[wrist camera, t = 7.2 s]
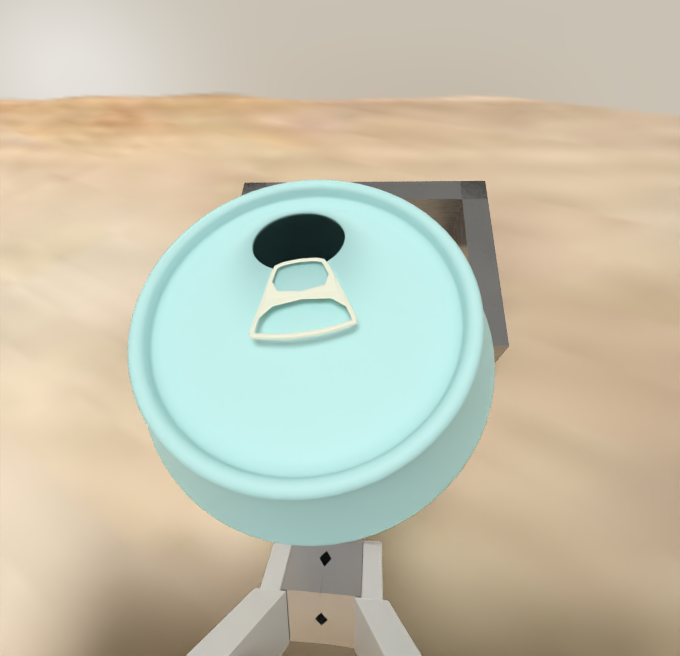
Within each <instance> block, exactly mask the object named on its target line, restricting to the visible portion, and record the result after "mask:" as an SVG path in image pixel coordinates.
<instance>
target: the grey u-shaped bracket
mask: <svg viewBox="0 0 680 656" xmlns="http://www.w3.org/2000/svg"><path fill="white" fill-rule="evenodd" d="M352 183H357V184H362V185H366V186H370V187H373V188H377V189H380V190H382V191H385V192H388V193H391V194H393V195H395V196H397V197H400V198H402V199H404V200H405V201H407V202H409V203H411V204H413V205H414V206H416V207H417V208H419V209H420V210H422V211H423V212H425V213H426V214H428V215H429V216H430V217H431V218H433V219H434V220H435V221H436V222H437V223H438V224H439V225H440V226H441V227H442V228H443V229H445V230H446V231H447V233H448V234H449V235H450V236H451V237H452V238H453V240H454V241H455V242H456V243H457V245H458V246H459V248H460V249H461V251H462V252H463V254H464V255H465V257H466V259H467V261H468V263H469V264H470V266H471V268H472V271H473V273H474V276H475V278H476V281H477V283H478V287H479V291H480V294H481V298H482V305H483V311H484V313H485V316H486V318H487V322H488V325H489V329H490V332H491V337H492V343H493V349H494V362H496V361H497V360H498V358H499V357H500V356H501V355H502V354H503V353H504V351H505V350H506V349H507V348H508V347H509V343H508V336H507V329H506V322H505V316H504V309H503V302H502V295H501V288H500V281H499V274H498V267H497V260H496V253H495V246H494V240H493V233H492V226H491V219H490V212H489V205H488V198H487V191H486V184H485V181H429V182H352ZM277 184H282V183H245V184H244V188H243V192H242V195H245V194H247V193H250V192H252V191H255V190H259V189H262V188H265V187H269V186H273V185H277ZM242 195H241V196H242Z"/></svg>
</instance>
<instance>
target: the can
mask: <svg viewBox="0 0 680 656" xmlns="http://www.w3.org/2000/svg"><path fill="white" fill-rule="evenodd" d="M128 369H129V377H130V382H131V386H132V391H133V394H134V397H135V400H136V402H137V405H138V408H139V410H140V412H141V414H142V416H143V418H144V420H145V422H146V424H147V425H148V429H149V432H150V435H151V438H152V441H153V443H154V446H155V448H156V450H157V452H158V454H159V456H160V458H161V460H162V462H163V464H164V466H165V467H166V469H167V470H168V472H169V473H170V475H171V476H172V478H173V479H174V480H175V481H176V483H177V484H178V485H179V486H180V487H181V489H182V490H183V491H184V492H185V493H186V495H187V496H189V497H190V498H191V499H192V500H193V501H194V502H195V503H196V504H197V505H198V506H199V507H200V508H202V509H203V510H204V511H206V512H207V513H208V514H210V515H211V516H212V517H214V518H215V519H217V520H219V521H220V522H222V523H224V524H226V525H227V526H229V527H231V528H233V529H235V530H237V531H240V532H242V533H245V534H247V535H249V536H252V537H256V538H259V539H263V540H266V541H270V542H275V543H281V544H287V545H298V546H322V545H335V544H340V543H345V542H351V541H356V540H359V539H362V538H365V537H369V536H372V535H375V534H378V533H380V532H382V531H385V530H387V529H389V528H391V527H394V526H396V525H398V524H399V523H401V522H403V521H405V520H406V519H408V518H410V517H412V516H413V515H415V514H416V513H417V512H419V511H420V510H422V509H423V508H424V507H426V506H427V505H428V504H430V503H431V502H432V501H433V500H434V499H435V498H436V497H437V496H439V495H440V494H441V493H442V492H443V491H444V490H445V489H446V488H447V487H448V486H449V485H450V483H451V482H452V481H453V480H454V479H455V478H456V476H457V475H458V474H459V473H460V471H461V470H462V469H463V467H464V466H465V464H466V463H467V461H468V460H469V458H470V457H471V455H472V453H473V451H474V449H475V447H476V446H477V444H478V442H479V440H480V437H481V435H482V432H483V430H484V427H485V425H486V422H487V419H488V415H489V411H490V408H491V403H492V397H493V391H494V377H495V362H494V349H493V343H492V337H491V332H490V329H489V325H488V322H487V318H486V316H485V313H484V311H483V305H482V298H481V294H480V291H479V287H478V283H477V281H476V278H475V276H474V273H473V271H472V268H471V266H470V264H469V263H468V261H467V259H466V257H465V255H464V254H463V252H462V251H461V249H460V248H459V246H458V245H457V243H456V242H455V241H454V240H453V238H452V237H451V236H450V235H449V234H448V233H447V231H446V230H445V229H443V228H442V227H441V226H440V225H439V224H438V223H437V222H436V221H435V220H434V219H433V218H431V217H430V216H429V215H428V214H426V213H425V212H423V211H422V210H420V209H419V208H417V207H416V206H414V205H413V204H411V203H409V202H407V201H405V200H404V199H402V198H400V197H397V196H395V195H393V194H391V193H388V192H385V191H382V190H380V189H377V188H373V187H370V186H366V185H362V184H357V183H352V182H345V181H336V180H303V181H294V182H288V183H282V184H277V185H273V186H269V187H265V188H262V189H259V190H255V191H252V192H250V193H247V194H245V195H242V196H240V197H237V198H235V199H233V200H231V201H229V202H227V203H225V204H223V205H222V206H220V207H218V208H216V209H215V210H213V211H211V212H210V213H208V214H207V215H205V216H204V217H202V218H201V219H200V220H198V221H197V222H196V223H195V224H193V225H192V226H191V227H190V228H188V229H187V230H186V231H185V232H184V233H183V234H182V235H181V236H180V237H179V238H178V239H177V240H176V241H175V242H174V243H173V244H172V245H171V246H170V247H169V249H168V250H167V251H166V252H165V254H164V255H163V256H162V257H161V259H160V260H159V261H158V263H157V264H156V266H155V267H154V269H153V270H152V272H151V273H150V275H149V277H148V279H147V281H146V282H145V284H144V286H143V288H142V291H141V293H140V295H139V298H138V300H137V303H136V306H135V309H134V312H133V315H132V320H131V325H130V329H129V338H128Z"/></svg>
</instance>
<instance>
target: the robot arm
mask: <svg viewBox="0 0 680 656" xmlns="http://www.w3.org/2000/svg"><path fill="white" fill-rule="evenodd" d="M289 641H293V642H307V643H321V644H328V645H335V646H343V647H350V648H354V650H355V653H356V655H357V656H422V655H421V654H420V652H419V650H418V649H417V647H416V645H415V644H414V642H413V640H412V639H411V637H410V635H409V634H408V632H407V630H406V629H405V627H404V625H403V624H402V622H401V620H400V619H399V617H398V615H397V614H396V612H395V610H394V609H393V607H392V605H391V604H390V602H389V601H388V600H383V569H382V543H381V541H372V540H364V542H363V540H362V539H359V540H356V541H351V542H345V543H340V544H335V545H322V546H298V545H287V544H281V543H275V542H274V544H273V547H272V550H271V553H270V557H269V560H268V563H267V566H266V570H265V573H264V576H263V579H262V583H261V586H260V588H254V589H253V590H252V591H251V592H250V593H249V594H248V595H247V596H246V597H245V598H244V599H243V600H242V601H241V602H240V603H239V604H238V605H237V606H236V607H235V608H234V609H233V610H232V611H231V612H230V613H229V614H228V615H227V616H226V617H225V618H224V619H223V620H222V621H221V622H220V623H219V624H218V625H217V626H216V627H215V628H213V629H212V630H211V631H210V632H209V633H208V634H207V635H206V636H205V637H204V638H203V639H202V640H201V641H200V642H199V643H198V644H197V645H196V646H195V647H194V648H193V649H192V650H191V651H190V652H189V653H188V654H187V655H186V656H281V655H282V654H283V653H284V651H285V650H286V648H287V647H288V645H289V644H290V643H289Z"/></svg>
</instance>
